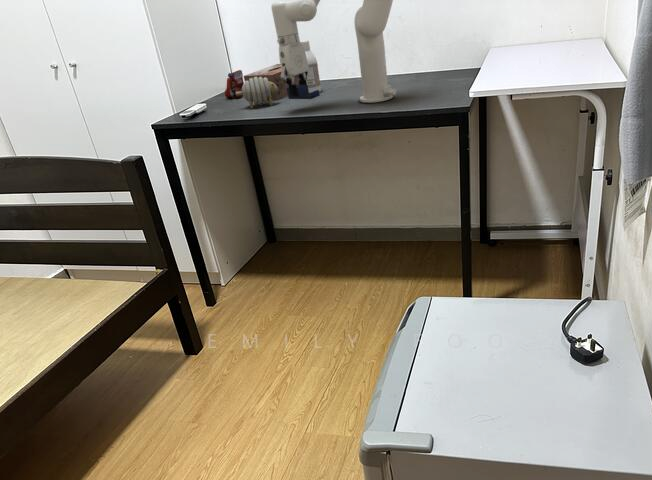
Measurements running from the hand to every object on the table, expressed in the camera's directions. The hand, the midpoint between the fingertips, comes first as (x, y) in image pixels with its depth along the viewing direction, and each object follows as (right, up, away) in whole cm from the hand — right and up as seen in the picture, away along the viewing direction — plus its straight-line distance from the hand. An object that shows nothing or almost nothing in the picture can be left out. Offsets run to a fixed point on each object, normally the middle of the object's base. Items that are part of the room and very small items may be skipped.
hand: (299, 93), depth 204 cm
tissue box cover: (-13, +14, +38) cm, 43 cm away
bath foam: (+2, +12, +31) cm, 33 cm away
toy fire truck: (-33, +14, +43) cm, 55 cm away
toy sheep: (-18, +2, +19) cm, 26 cm away
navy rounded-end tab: (+1, -1, 0) cm, 2 cm away
